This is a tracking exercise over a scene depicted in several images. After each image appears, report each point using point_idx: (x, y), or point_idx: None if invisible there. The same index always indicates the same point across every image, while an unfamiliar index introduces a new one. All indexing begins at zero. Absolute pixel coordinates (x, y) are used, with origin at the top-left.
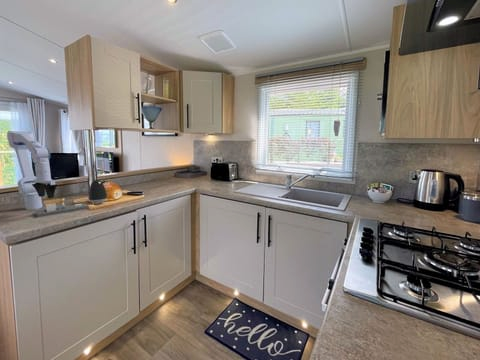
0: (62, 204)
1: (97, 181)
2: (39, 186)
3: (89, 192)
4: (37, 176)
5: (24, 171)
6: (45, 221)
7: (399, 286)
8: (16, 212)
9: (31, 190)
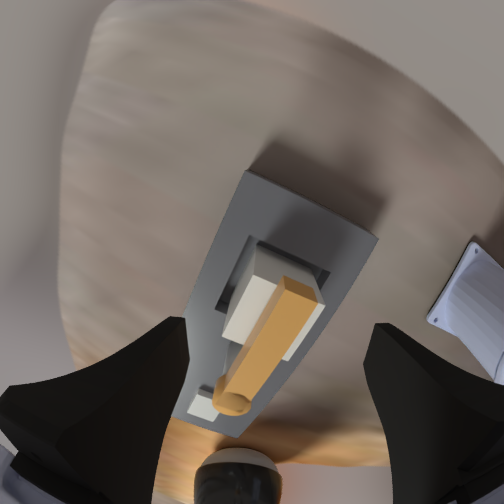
0: (225, 364)
1: None
2: (431, 446)
3: (245, 497)
4: None
5: None
6: (148, 166)
7: None
8: (500, 221)
9: None
